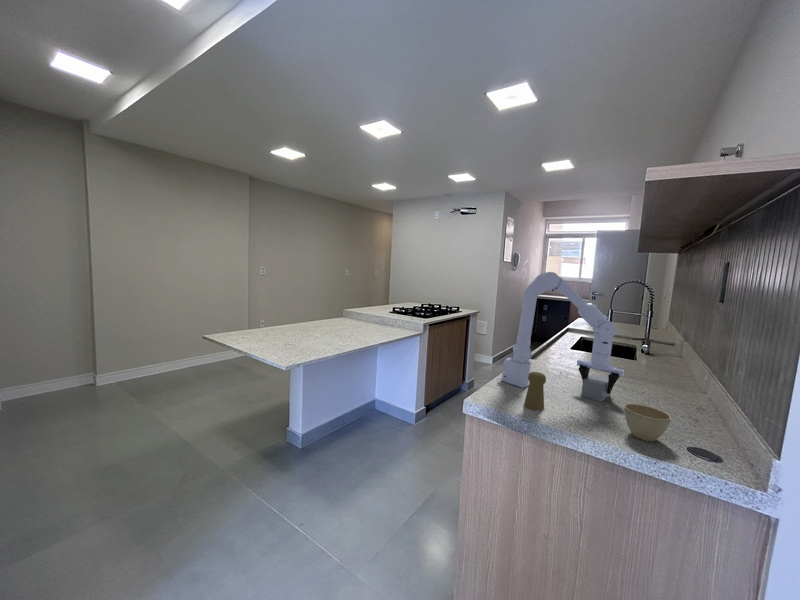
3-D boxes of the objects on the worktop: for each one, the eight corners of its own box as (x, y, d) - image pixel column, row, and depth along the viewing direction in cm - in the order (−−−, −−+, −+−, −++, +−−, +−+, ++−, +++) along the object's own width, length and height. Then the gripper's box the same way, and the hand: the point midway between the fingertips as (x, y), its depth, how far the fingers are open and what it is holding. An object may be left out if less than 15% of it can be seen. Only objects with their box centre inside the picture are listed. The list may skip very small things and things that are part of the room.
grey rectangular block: (581, 395, 115) (583, 379, 115) (591, 390, 122) (593, 374, 122) (601, 401, 110) (603, 384, 110) (610, 395, 118) (612, 379, 117)
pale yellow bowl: (668, 451, 80) (672, 423, 79) (620, 436, 86) (623, 410, 85) (666, 436, 88) (670, 411, 87) (622, 424, 94) (625, 400, 93)
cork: (547, 408, 102) (551, 374, 101) (538, 412, 98) (542, 377, 97) (530, 401, 107) (533, 368, 106) (520, 405, 103) (523, 371, 102)
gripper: (575, 349, 118) (571, 385, 119) (622, 359, 107) (617, 398, 108) (582, 347, 122) (578, 382, 124) (627, 356, 112) (622, 394, 113)
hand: (596, 389), depth 116 cm, fingers open, 7 cm apart
